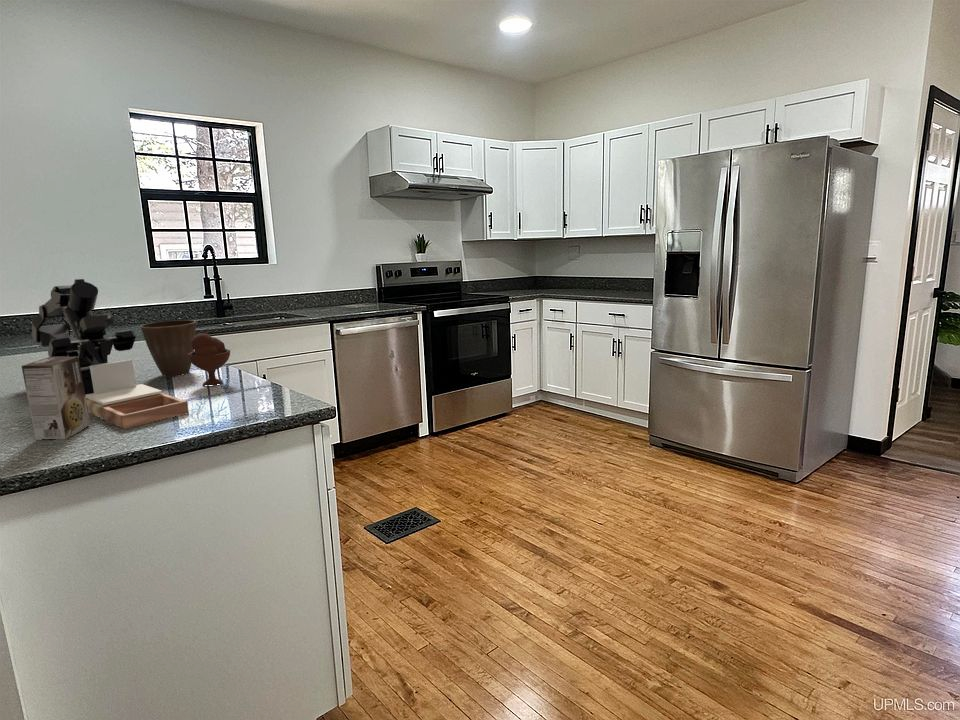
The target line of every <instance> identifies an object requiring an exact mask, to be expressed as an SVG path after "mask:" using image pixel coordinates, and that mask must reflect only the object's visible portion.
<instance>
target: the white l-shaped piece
mask: <svg viewBox="0 0 960 720" xmlns="http://www.w3.org/2000/svg"><path fill="white" fill-rule="evenodd" d="M134 370H135V369H134V363H133V360H132V359H130V358H129V359H123V360H118V361H111V362H108V363H104V364H97V365H91V366H90V371H91V377H92V383H93V389H94V393H92V394H87V395H85V396H86V398H88V399H90V400H92V401H95V402H97V403H99V404H102V405H108V404H112V403H117V402H122V401H127V400H131V399H136V398H141V397H146V396H151V395H155V394H160V393H163V390H161V389H158V388H155V387H152V386H149V385H147V384H143V383H140V384H137V382H136V377H135V371H134Z"/></svg>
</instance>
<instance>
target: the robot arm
mask: <svg viewBox="0 0 960 720" xmlns="http://www.w3.org/2000/svg"><path fill="white" fill-rule="evenodd" d="M98 293H99V289H98V287H97V286H96V285H94V284H92V283H90V282H87V281H85V279H84V278H81V279H80V278H79V279H74V283H73V284H70V285H67V284H66V285H55V286H53V287H52V289H51V290H50V299H48V301H46V302H45V303H44V304H41V305H39V306H38V314H37V316H36V317H35V318H34V319H33V321H32V323H31V337H32V340H33V342H34V343H35V344H37V346H38V347H41V348H42V347H44V348H46V347H47V348H48V350H47V354H48V355H47V356H48V357H59V356H67V357H76V356H78V358H79V363H80V368H81V374H82V379H83V385H84V390H85V395H87V394H92V393H94V389H93V383H92V377H91V371H90V366H91V365H97V364H104V363H109V361H108V356H109V355H111V353H112V348H114V350H115V351H118V352H123V351H124V352H125V351H130V350H131V349H133V347H134V343H135V340H136V334H135V332H134V331H133V330H131V329H128V330H127V329H126V330H118V331H115V333H114V336H111V337H105V336H106V335H107V331H106V329H107V328H108V327H112V326H113V325H114V324H115V321H114V317H113V315H112V313H111V312H104V313H103V312H102V314H96V315H94V314H93V313H92V311H93V310H95V306H96V303H97V299H98V296H99V295H98ZM64 316H65V317H64ZM51 318H53V319H54V318H55V319H56V318H60V319H61V320H62V321H63V323H58V324H51V325H44V323H45V322H46V319H51ZM71 331H72V336H71Z"/></svg>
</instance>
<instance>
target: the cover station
mask: <svg viewBox="0 0 960 720" xmlns="http://www.w3.org/2000/svg"><path fill="white" fill-rule="evenodd" d="M86 402H87V407H88V412H90V413H89V414H91V413H92V414H91V415H93V414H94V415H93V416H95V415H96V416H95V417H97V416H99V417H101V418H103V419H102V420H104V419H105V420H104V421H106V420H107V421H106V422H108V421H109V422H108V423H110V422H112V423H113V424H112V423H111V424H112V425H114V424H116V425H118V426H117V427H119V426H120V427H119V428H121V427H122V428H121V429H123V428H124V429H123V430H126V429H125V428H127V429H130V428H129V427H131V428H134V427H133V426H135V427H138V425H139V426H143V425H146V424H151V422H152V423H155V422H154V421H156V422H159V421H158V420H160V421H162V420H161V419H164V420H166V419H165V418H168V419H171V418H170V417H172V418H175V416H176V417H180V416H183V414H184V415H187V414H186V413H188V414H190V411H189V404H188V401H187V400H185V399H181V398H179V397H176V396H173V395H171V394H170V395H169V394H166V393H165V392H162V393H160V394H155V395H151V396H146V397H141V398H136V399H131V400H127V401H122V402H117V403H112V404H108V405H102V404H99V403H97V402H95V401H92V400H90V399H88V398H86ZM179 415H180V416H179ZM99 417H98V418H99ZM101 418H100V419H101ZM142 424H143V425H142ZM116 425H115V426H116Z"/></svg>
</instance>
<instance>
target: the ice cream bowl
mask: <svg viewBox="0 0 960 720" xmlns="http://www.w3.org/2000/svg"><path fill="white" fill-rule="evenodd" d="M225 346H226V345H225V343H224V342H223V341H222V340H220V339H219V338H217V337H212V336H211V334H208V333H198V334H195V336H194V337H193V339H192V341H191V347H192V348H193V349H194V351H193V352H191V353H189V354H187V355H188V358H189V360H190V362H191V365H194V367H195V368H198V369H199V370H201V371H206V372H207V374H208V379H207V380H205V381H204V382H202V384H201V385H217V384H221V383H222V382H223V380H220V379H218V378H217V377H216V370H218V369H220V368H222V367H223V366H224V365H225V364H226V363H227V362H228V361H229V359H230V356H231V349H227V348H226V347H225ZM223 383H224V382H223Z"/></svg>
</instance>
